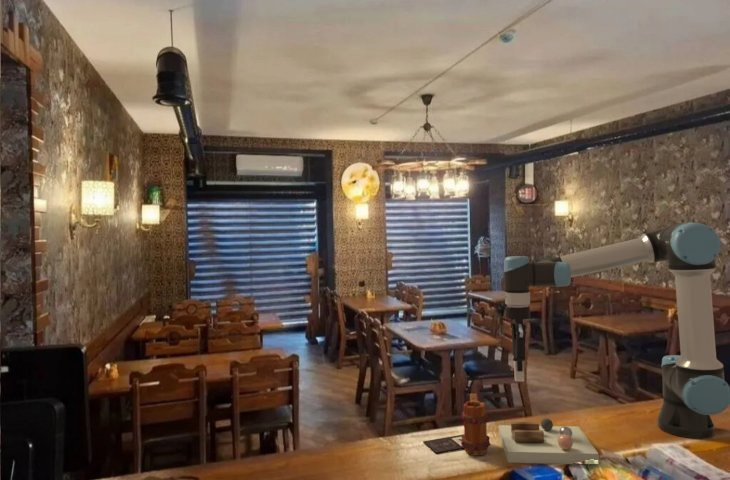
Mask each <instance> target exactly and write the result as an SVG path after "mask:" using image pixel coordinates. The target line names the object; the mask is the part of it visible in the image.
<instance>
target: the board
mask: <svg viewBox="0 0 730 480" xmlns="http://www.w3.org/2000/svg"><path fill="white" fill-rule="evenodd" d="M564 426H565V425H563V426H561V425H553V427H552V429H551V430H548V431H547V430H544V429H543V428H542V427H541V425H539V430H543V432H544V443H529V442H515V440H514V438H513V435H512V433H511V424H509V425H507V424H505V425H502V424H501V425H498V437H499V439H500V443H501V445H502V449H503V451H504V452H503V453H504V454H505V458H506V462H507V463H508V464H512V463H514V464H549V465H550V464H553V465H574V464H573V463H575V462H583V461H585V460H590V459H594V460H599V461H600V454H599V452H598V451H597V449H596V448H595V447H594V446H593V444H592V443H591V442H590V440H589V439H588V438H587V436H586V435H585V433H584V432H583V430H581V429H580V427H579V426H574V425H573V426H570V425H567V426H566V427H569V428H570V429H571V430H572V437H571V438H572V440H573V446H572V447H571V448H570V449H569V450H564V449H562V448H560V446H559V445H558V437H559V436H560V429H561V428H562V427H564Z"/></svg>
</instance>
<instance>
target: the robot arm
mask: <svg viewBox="0 0 730 480" xmlns="http://www.w3.org/2000/svg"><path fill="white" fill-rule="evenodd" d="M721 242H722V241H721V239H720V236H719V235H718V233H717V232H716V231H715V229H713V228H712V227H710V226H709V225H708V224H707V225H706V224H704V223H701V222H691V221H690V222H689V221H688V222H683V223H682V222H679V223H673V224H670V225H667V226H665V227H662V228H660V229H656V230H652V231H649V232H645V233H642V234H641V235H640V237H638V238H634V239H629V240H625V241H620V242H617V243H613V244H608V245H603V246H600V247H594V248H590V249H587V250H582V251H577V252H574V253H569V254H566V255H560V256H557V257H552V258H545V259H541V260H539V261H538V262H533V261H531V262H530V259H529V257H528V256H525V255H523V256H522V255H521V256H520V255H519V256H518V255H512V256H506V257H505V258H504V261H503V263H504V264H503V277H504V278H503V280H504V283H503V284H504V295H502V298H503V299H504V304H505V305H506V306H505V307H504V315H505V318H506V319H508V320H512V322H511V323H510V329H511V340H512V341H511V342H512V343H511V344H512V355H513V358H512V361H513V363H514V381H515V382H525V360H526V337H527V335H526V334H527V332H526V329H527V328H526V324H525V323H524V320H529V319H530V318H531V306H529V305H531V292H530V288H531V287H532V288H533V287H535V288H536V287H555V288H556V287H557V288H561V287H568V286H570V285H571V282H572V281H571V280H572V279H571V278H574V277H575V278H576V277H579V276H583V275H584V276H585V275H588V274H592V273H599V272H603V271H607V270H612V269H616V268H620V267H626V266H630V265H635V264H639V263H642V262H643V263H644V262H649V263H651V264H654V263H659V262H667V266H668V267H667V269H668V271H669V272H670V273H672V275H674V279H675V292H676V293H675V294H676V307H677V308H676V309H677V319H678V320H677V321H678V334H679V335H678V336H679V348H680V355H678V354H677V355H676V354H673V355H672V354H670V355H664V356H663V357H662V359H661V373H662V377H661V378H662V405H661V408H660V411H659V413H658V416H657V427H658V428H659V429H660V430H661V431H663V432H665V433H668V434H670V435H674V436H677V437H683V438H689V439H690V438H691V439H706V438H711V437H713V436H714V435H715V434H716V433H715V424H714V422H713V419H712V417H711V416H714V415H718V414H720V413H723V412H724V411H725V410H726V409H727V408H729V406H730V385H729V383H728V382H727V381H725V370H724V364H723V363H722V362H721V361H720V360H718V358H717V350H716V339H715V338H716V336H715V323H714V322H715V321H714V310H713V309H714V308H713V296H712V283H711V275H712V273H713V272H715V271H716V269H717V262H716V260H717V259H716V258H718V256H719V254H720V252H721V247H722V243H721Z"/></svg>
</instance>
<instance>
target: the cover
mask: <svg viewBox="0 0 730 480" xmlns="http://www.w3.org/2000/svg"><path fill="white" fill-rule="evenodd" d="M510 425H511V433H512V435H513V438H514V440H515V442H529V443H544V432H543V430H539V426H540V423H539V422H538V421H510Z"/></svg>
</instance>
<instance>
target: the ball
mask: <svg viewBox="0 0 730 480" xmlns="http://www.w3.org/2000/svg"><path fill="white" fill-rule="evenodd" d="M563 426H564V427H562V428H561V429H560V435H563V434H566V435H568V436H570V437H572V430H571V429H570V428H569V427H566V426H565V425H563Z"/></svg>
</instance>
